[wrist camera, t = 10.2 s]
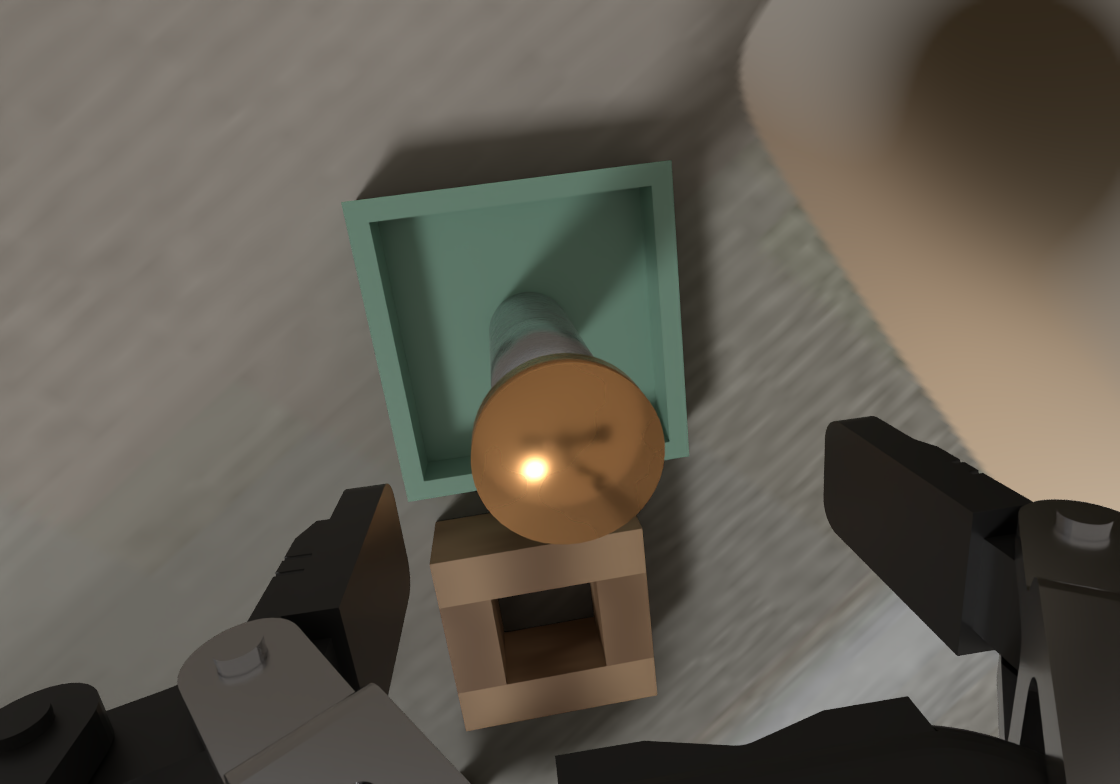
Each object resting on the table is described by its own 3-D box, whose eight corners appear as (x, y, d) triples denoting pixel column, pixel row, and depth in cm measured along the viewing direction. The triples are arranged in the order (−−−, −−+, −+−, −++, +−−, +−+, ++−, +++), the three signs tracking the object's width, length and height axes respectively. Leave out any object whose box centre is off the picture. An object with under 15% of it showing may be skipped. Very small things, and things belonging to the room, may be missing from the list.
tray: (653, 162, 25) (671, 160, 23) (672, 434, 29) (688, 456, 27) (354, 200, 25) (341, 202, 22) (414, 475, 28) (408, 501, 26)
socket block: (624, 490, 30) (642, 528, 27) (639, 643, 33) (657, 695, 30) (435, 522, 29) (429, 564, 26) (468, 675, 32) (466, 731, 29)
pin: (575, 272, 26) (658, 350, 14) (586, 374, 27) (670, 527, 15) (468, 287, 26) (455, 380, 13) (485, 389, 27) (487, 558, 15)
